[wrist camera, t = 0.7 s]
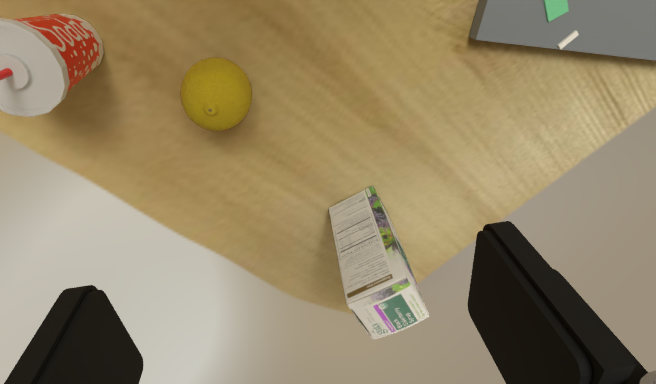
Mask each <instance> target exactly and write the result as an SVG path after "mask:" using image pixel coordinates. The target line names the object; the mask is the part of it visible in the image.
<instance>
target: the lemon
mask: <svg viewBox="0 0 656 384" xmlns="http://www.w3.org/2000/svg"><path fill="white" fill-rule="evenodd" d="M181 100H182V105H183V107H184V110H185V112H186V113H187V115H188V116H189V118H190V119H191V120H192V121H194V122H195V123H196V124H197V125H199V126H201V127H202V128H205V129H208V130H215V131H221V130H227V129H229V128H231V127H234V126H235V125H237V124H238V123H239V122H240V121H242V120H243V118H244V117H245V116H246V114H247V113H248V110H249V108H250V105H251V100H252V91H251V85H250V82H249V80H248V78H247V76H246V74H245V73H244V72H243V70H242V69H241V68H240V67H238V66H237V65H236V64H235V63H233V62H231V61H229V60H227V59H222V58H208V59H204V60H201V61H199V62H198V63H196V64H195V65H193V66H192V67H191V68H190V69H189V71H188V72H187V73H186V75H185V77H184V79H183V81H182V86H181Z"/></svg>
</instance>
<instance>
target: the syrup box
mask: <svg viewBox="0 0 656 384" xmlns="http://www.w3.org/2000/svg"><path fill="white" fill-rule="evenodd" d="M329 214H330V219H331V225H332V230H333V236H334V241H335V246H336V251H337V257H338V262H339V268H340V273H341V278H342V283H343V288H344V294H345V299H346V304H347V306H348V307H349V308H350V309H351V311H352V312H353V314H354V315H355V317H356V318H357V320H358V322H359V323H360V324H361V326H362V327H363V328H364V329H365V331H366V332H367V333H368V335H369V336H370V337H371V339H374V340H375V339H378V338H381V337H384V336H388V335H390V334H394V333H396V332H399V331H401V330H404V329H406V328H408V327H411V326H413V325H415V324H417V323H419V322H420V321H422V320H424V319H426V318H427V317H429V313H428V310H427V308H426V306H425V303H424V301H423V298H422V296H421V293H420V291H419V288H418V285H417V283H416V280H415V278H414V275H413V273H412V270H411V267H410V265H409V262H408V260H407V257H406V255H405V252H404V250H403V247H402V245H401V243H400V240H399V238H398V235H397V233H396V231H395V228H394V226H393V224H392V221H391V219H390V217H389V215H388V213H387V211H386V209H385V207H384V205H383V203H382V202H381V200H380V198H379V196H378V194H377V193H376V191H375V189H374V187H373V186H370V187H369V188H367V189H365V190H363V191H361V192H359V193H357V194H355V195H353V196H351V197H349V198H347V199H345V200H343V201H341V202H339V203H338V204H336V205H334V206H332V207H330V208H329Z"/></svg>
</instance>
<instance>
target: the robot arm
mask: <svg viewBox="0 0 656 384" xmlns="http://www.w3.org/2000/svg"><path fill="white" fill-rule="evenodd" d="M468 310H469V313H470V316H471V318H472V320H473V322H474V324H475V326H476V328H477V330H478V332H479V333H480V335H481V337H482V339H483V341H484V343H485V345H486V347H487V348H488V350H489V352H490V354H491V356H492V358H493V360H494V361H495V363H496V365H497V367H498V369H499V371H500V373H501V374H502V376H503V378H504V380H505V382H506V384H656V371H652V372H649V373H648V372H647V371H646V370H645V369H644V368H643V366H642V365H641V364H640V363H639V362H638V361H637V360H636V359H635V357H634V356H633V355H632V354H631V353H630V352H629V351H628V349H627V348H626V347H625V346H624V345H623V344H622V343H621V342H620V340H619V339H618V338H617V337H616V336H615V335H614V334H613V332H612V331H611V330H610V329H609V328H608V327H607V326H606V325H605V324H604V322H603V321H602V320H601V319H600V318H599V317H598V316H597V314H596V313H595V312H594V311H593V310H592V309H591V308H590V306H589V305H588V304H587V303H586V302H585V301H584V300H583V299H582V297H581V296H580V295H579V294H578V293H577V292H576V291H575V290H574V288H573V287H572V286H571V285H570V284H569V283H568V282H567V281H566V279H565V278H564V277H563V276H562V275H561V274H560V273H559V272H558V271H556V270H554V269H552V268H551V267H550V266H549V264H548V263H547V262H546V261H545V260H544V259H543V258H542V256H541V255H540V254H539V253H538V252H537V251H536V250H535V249H534V247H533V246H532V245H531V244H530V243H529V242H528V240H527V239H526V238H525V237H524V236H523V235H522V234H521V232H520V231H519V230H518V229H517V228H516V227H515V225H514V224H512V223H511V222H509V221H506V222H499V223H493V224H487V225H485V226H484V228H483V231H479V232H478V234H477V240H476V247H475V254H474V262H473V269H472V276H471V284H470V291H469V298H468ZM142 371H143V359H142V356H141V354H140V352H139V351H138V349H137V347H136V346H135V344H134V342H133V340H132V339H131V337H130V335H129V334H128V332H127V330H126V328H125V327H124V325H123V323H122V322H121V320H120V318H119V316H118V315H117V313H116V311H115V310H114V308H113V306H112V304H111V303H110V301H109V299H108V298H107V296H106V294H105V293H104V291H102V290H98V289H97V288H96V287H95V286H93V285H91V286H82V287H76V288H69V289H66V290H64V291H63V292H62V293H61V294H60V295H59V297H58V299H57V300H56V302H55V303H54V305H53V307H52V308H51V310H50V311H49V313H48V315H47V316H46V318H45V320H44V321H43V323H42V324H41V326H40V327H39V329H38V330H37V332H36V334H35V335H34V337H33V338H32V340H31V342H30V343H29V345H28V346H27V348H26V350H25V351H24V353H23V354H22V356H21V358H20V359H19V361H18V363H17V364H16V365H15V367H14V369H13V370H12V372H11V373H10V375H9V377H8V379H7V380H6V382H5V383H4V384H139V380H140V378H141V374H142Z"/></svg>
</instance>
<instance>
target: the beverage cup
mask: <svg viewBox="0 0 656 384" xmlns="http://www.w3.org/2000/svg"><path fill="white" fill-rule="evenodd" d="M103 54H104V51H103V42H102V40H101V38H100V36H99V35H98V33H97V31H96V30H95V29H94V28H93V27H92V26H91V25H90V24H89V23H88V22H87V21H85V20H83V19H81V18H79V17H78V16H76V15H70V14H64V13H62V14H54V15H46V16H38V17H30V18H22V19H13V20H11V19H4V18H0V110H1V111H3V112H6V113H8V114H10V115H16V116H26V117H34V116H38V115H41V114H45V113H49V112H50V111H51V110H52V109H53V108H55V107H56V106H57V105H58V104H59V103H60V102H61V101H62V100H64V99H65V97H66V94H67V91H68V90H70V89H71V88H72V87H73V86H74V85H76V84H77V83H78V82H79V81H80V80H81V79H83V78H84V77H85V76H86V75H87V74H88V73H90V72H91V71H92V70H93V69H94V68H95V67H96V66H98V65H99V64H100V63H101V60H102V57H103Z"/></svg>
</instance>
